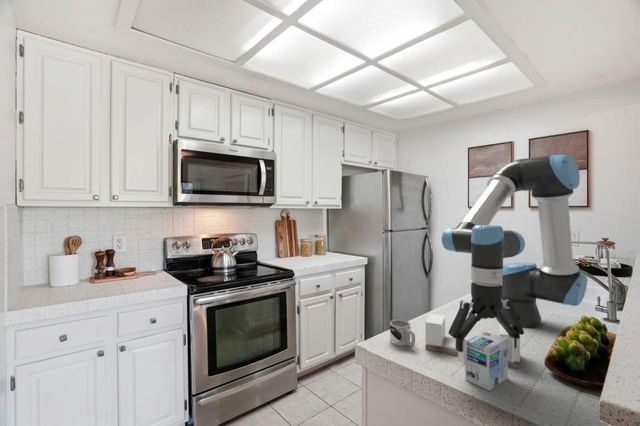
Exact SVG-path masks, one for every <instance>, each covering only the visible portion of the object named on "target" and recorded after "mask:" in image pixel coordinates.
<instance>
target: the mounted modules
mask: <svg viewBox="0 0 640 426" xmlns="http://www.w3.org/2000/svg"><path fill="white" fill-rule="evenodd" d="M505 334H508V333H507V332H506V330H505V329H504V328H503V327H502V325H501V324H500V323H498V336H500V337H503V338H505ZM508 335H509V334H508ZM445 337H446V316H445V315H443V314H437V313H436V314H435V313H429V315H428V317H427V318H426V321H425V345H426V344H432V345H437V346H442V345H443V341H444V338H445ZM514 360H515V361H520V362H521V337H520V338H519V339H517V341H516V349H514Z"/></svg>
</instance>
